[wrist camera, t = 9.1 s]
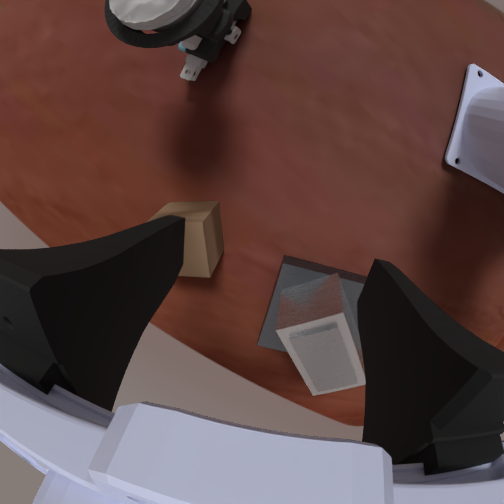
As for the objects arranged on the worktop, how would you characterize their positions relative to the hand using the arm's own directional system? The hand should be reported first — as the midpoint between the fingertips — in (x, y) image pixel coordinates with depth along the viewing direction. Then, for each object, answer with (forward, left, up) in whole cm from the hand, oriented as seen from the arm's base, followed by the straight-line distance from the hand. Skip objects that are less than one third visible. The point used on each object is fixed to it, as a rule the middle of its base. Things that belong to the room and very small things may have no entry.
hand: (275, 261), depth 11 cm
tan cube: (+6, +5, -10) cm, 13 cm away
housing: (-6, +10, -9) cm, 14 cm away
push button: (+7, -9, -11) cm, 16 cm away
